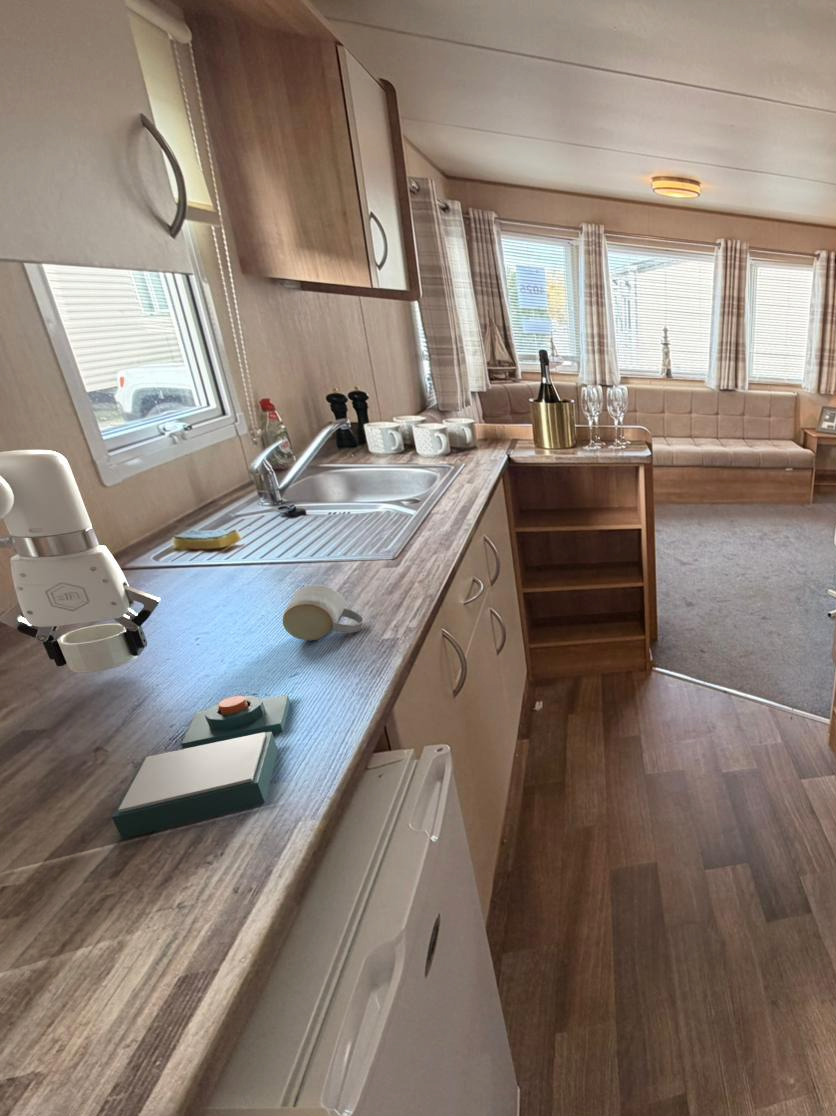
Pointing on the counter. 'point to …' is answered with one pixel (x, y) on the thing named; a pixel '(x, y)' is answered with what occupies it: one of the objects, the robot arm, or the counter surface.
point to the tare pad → (237, 721)
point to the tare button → (232, 705)
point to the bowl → (95, 648)
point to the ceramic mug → (318, 613)
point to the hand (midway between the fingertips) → (102, 656)
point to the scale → (197, 784)
